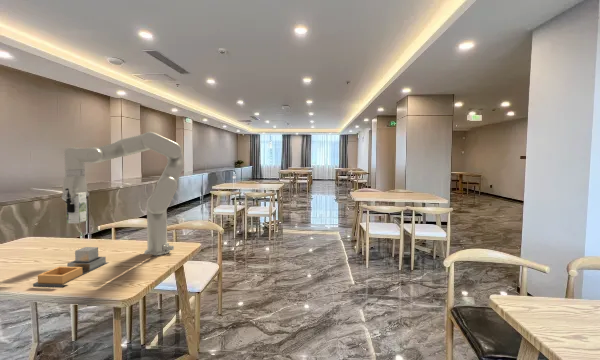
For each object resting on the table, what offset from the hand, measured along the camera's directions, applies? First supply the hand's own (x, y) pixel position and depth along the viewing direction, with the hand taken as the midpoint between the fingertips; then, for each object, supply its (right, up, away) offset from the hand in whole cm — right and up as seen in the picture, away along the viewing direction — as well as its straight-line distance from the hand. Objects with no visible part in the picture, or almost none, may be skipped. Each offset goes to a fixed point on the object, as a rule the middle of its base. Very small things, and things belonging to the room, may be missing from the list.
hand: (76, 210), depth 143 cm
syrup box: (0, -6, 0) cm, 6 cm away
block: (+11, -24, -8) cm, 28 cm away
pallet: (+11, -26, -15) cm, 32 cm away
